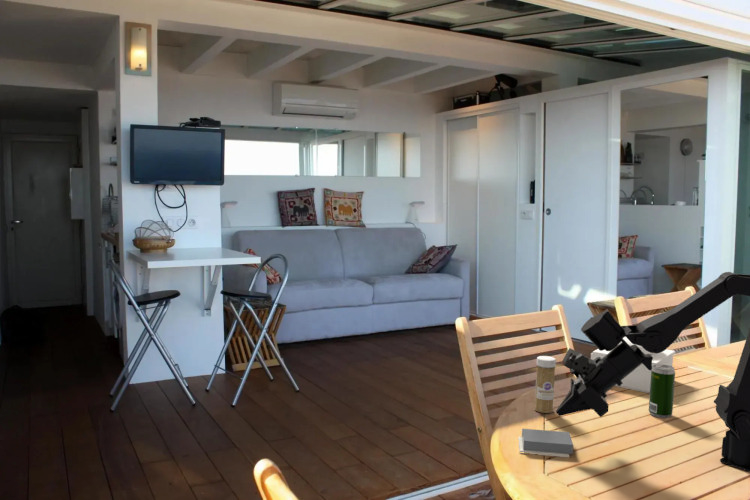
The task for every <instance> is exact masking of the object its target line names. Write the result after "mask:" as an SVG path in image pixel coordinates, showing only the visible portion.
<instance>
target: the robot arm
mask: <svg viewBox="0 0 750 500" xmlns="http://www.w3.org/2000/svg"><path fill="white" fill-rule="evenodd" d="M735 295H741V296H742V295H743V296H746V297H747V296H748V297H750V274H746V273H745V274H744V273H734V272H731V271H725V272H722V273H721V274H720V275H719V276H718V277H717V278H715V279H714V280H713V281H711V282H710V283H708V284H706V285H705V286H704V287H702V288H700V289H699V290H698V291H697V292H695V293H694V294H692V295H690V296H689V297H688V298H686V299H685V300H683V301H681V302H680V303H679V304H677V305H675V306H674V307H673V308H672V309H670V310H667V311H665V312H661V313H658V314H655V315H653V316H650V317H647V318H646V319H644V320H642V321H640V322H638V324H631V325H628V324H627V325H621V324H620V323H619V322H618V321H616V319H615V318H614V317H613V314H612V313H611V312H610V311H609V310H608V309H605V310H603V312H600V313H597V314H596V315H594V316H591V317H590V318H589V319H588V320H586V321H585V323H584V324H583V325H582V327H581V328H580V332H581V333H583V334H584V335H585V336H586V337H587V339H589V341H590V342H591V343H592V344H593V345H594V346H595V347H596V348H597V349H599V350H600V351H603V350H606V351H611V350H612V349H613V350H612V351H611V352H609V353H608V354H607V355H606V356H604V357H603V358H601V357H599V358H598V357H597V358H595V359H594V360H592V359H591V357H588V356H586V355H584V353H583V354H582V353H581V352H578V351H577V350H575V349H573V348H570V347H569V348H568V349H567V352H566V353H565V355H564V356H563V359H562V362H563V366H564V367H566V368H567V369H569V372H570V373H571V375H574V376H575V377H576V379H575V380H574V379H573V378H570V390H569V391H568V392H567V394H566V396H565V398H564V399H562V402H561V403H560V405H559V406H558V407H557V409H556V410H555V413H556V415H557V416H559V417H561V416H566V415H570V414H574V413H579V412H583V411H588V410H589V411H590V410H593V411H594V412H595V413H596V414H597V415H598V416H599V417H600V418H603V416H604V415H606V414H607V413H608V412H609V402H608V401H607V399H606V398H607V397H608V394H607V393H608V391H610V390H612V388H614V387H616V386H615V385H616V384H617V385H618V386H620V385H621V384H623V383H622V381H621V380H622V379H624V378H625V377H626V376H627V375H628V374H630V373H631V372H632V371H633V370H635V369H636V368H637V367H638V366H640V365H641V364H642V363H643V365H644V366H645V367H646V368H647V369H648V370H652V359H653V357H652V356H651V355H650V354H644V353H643V352H642V351H641V350H640V349H639V347H638V346H637V345H639V346H642V347H643V348H644V349H645V350H646V351H648V352H650V353H661V352H663V351H664V350H666V349H667V350H668V349H669V347H670V346H671V345H672V344H673V343H674V342H675V341H676V340H677V339H678V338H679V336H680V335H681V333H682V332H683V331H684V330H685V329H686V328H687V327H689V326H690V325H691V324H693V323H694V322H697V321H698V320H699V319H701V318H702V317H703V316H705V315H707V314H708V313H710V312H711V311H712V310H714V309H716V308H717V307H719V306H721V304H723V303H724V302H727V300H729V299H730V298H731V297H733V296H735ZM624 337H627V339H628V340H629V341H630V342H631V343H632V344H635V345H631V346H630V345H629V344H628V343H627V342H626V341H625V340H624V339H623V338H624ZM619 343H620V344H619ZM618 344H619V345H618ZM616 346H617V347H616ZM717 390H718V392H717V395H716V398H715V399H714V400H713V403H714V404H715V411H716V414H717V416H718V417H719V418H720V419H721V420H722V421H723V422H724V424H725V426H726V428H728V430H726V431H725V435H724V437H722V441H721V442H722V444H721V457H722V458H720V459H719V461H720V462H719V463H722V464H725V465H729V466H732V467H734V468H737V469H740V470H744V471H746V472H750V328H749V330H748V333H747V335H746V340H745V341H744V345H743V348H742V352H741V355H740V358H739V361H738V363H737V367H736V370H735V374H734V376H733V379H732V381H731V382H730V383H729V384H728V385H727V386H725V385H723V384H719V386H718V389H717Z"/></svg>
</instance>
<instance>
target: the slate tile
mask: <svg viewBox="0 0 750 500" xmlns="http://www.w3.org/2000/svg"><path fill="white" fill-rule="evenodd" d="M571 436H572V435H571V434H570V432H569V431H556V430H545V429H532V428H521V437H522V443H523V450H530V451H542V452H554V453H566V454H569V455H573V453H574V443H573V439H572V437H571Z"/></svg>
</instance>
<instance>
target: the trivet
mask: <svg viewBox="0 0 750 500" xmlns="http://www.w3.org/2000/svg"><path fill="white" fill-rule="evenodd" d="M517 440H519V442H518V450H519V451H520V452H524V453H530V454H529V455H535V454H538V456H546V457H548V456H549V457H550V456H552V457H561V458H570V454H566V453H554V452H542V451H530V450H523V443H522V436H518V437H517ZM520 452H519V453H520ZM524 453H523V454H524ZM531 453H532V454H531Z"/></svg>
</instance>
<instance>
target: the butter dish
mask: <svg viewBox="0 0 750 500" xmlns="http://www.w3.org/2000/svg"><path fill="white" fill-rule="evenodd" d="M623 339H624V340H625V341H626V342H627V343H628V344H629V345H630V346H631V345H635V344H632V343H631V342H630V341H629V340H628V339H627V337H624V338H623ZM619 344H620V343H619ZM619 344H618V345H619ZM637 346H638V347H639V349H640V350H641V351H642V352H643V353H644V354H650V355H651V356H652V357H653V359H652V368H653V365H656V364H662V365H668V366H672V367H673V363H674V355H675V354H676V350H671V349H668V348H667V349H666V350H664V351H663V352H661V353H650V352H648V351H646V350H645V349H644V348H643V347H642V346H639V345H637ZM616 347H617V346H616ZM612 350H613V349H612ZM612 350H611V351H612ZM611 351H606V350H603V351H600V350H599V349H598V348H597V349H595V350H593V351H592V352H591V353H590V359H592V360H594V359H595V358H597V357H598V358H599V357H601V358H603V357H604V356H606V355H607V354H608V353H609V352H611ZM621 381H622V383H623V384H621V385H620V386H618V385H617V384H616V385H615V386H614V387H618V388H623V389H627V390H631V391H632V390H633V391H637V392H641V393H647V394H650V382H651V370H648V369H647V368H646V367H645V366H644V365H643V363H642V364H641V365H640V366H638V367H637V368H636V369H635V370H633V371H632V372H631V373H630V374H628V375H627V376H626V377H625V378H624V379H622V380H621Z"/></svg>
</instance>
